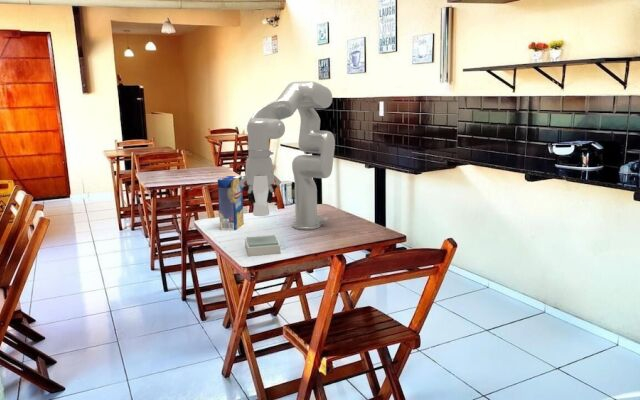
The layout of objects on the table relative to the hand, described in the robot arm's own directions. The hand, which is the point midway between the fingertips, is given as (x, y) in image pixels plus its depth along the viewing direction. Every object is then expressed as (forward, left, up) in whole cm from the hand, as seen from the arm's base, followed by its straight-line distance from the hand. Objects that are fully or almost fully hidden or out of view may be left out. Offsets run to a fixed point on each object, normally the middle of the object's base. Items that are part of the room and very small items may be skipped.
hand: (260, 202), depth 195 cm
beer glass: (0, 0, -5) cm, 5 cm away
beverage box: (+9, -38, -19) cm, 43 cm away
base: (0, 0, -18) cm, 18 cm away
